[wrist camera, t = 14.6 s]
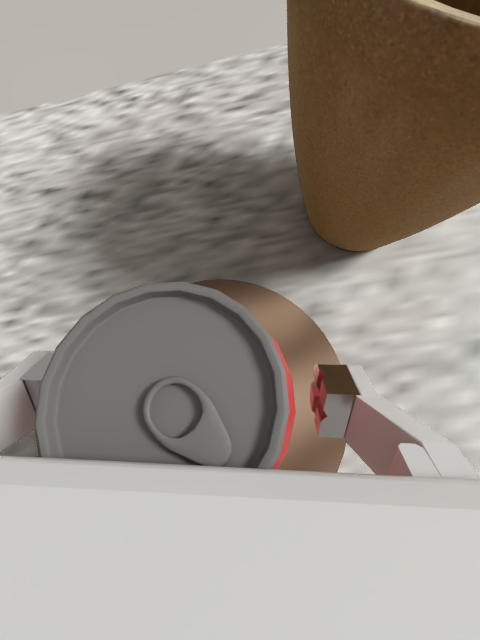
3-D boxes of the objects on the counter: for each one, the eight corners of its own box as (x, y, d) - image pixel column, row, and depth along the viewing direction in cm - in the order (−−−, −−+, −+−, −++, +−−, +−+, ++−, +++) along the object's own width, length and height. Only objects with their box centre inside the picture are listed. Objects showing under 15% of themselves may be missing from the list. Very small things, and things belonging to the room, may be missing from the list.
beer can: (215, 493, 16) (154, 679, 5) (136, 410, 18) (-56, 408, 6) (290, 401, 18) (375, 385, 6) (211, 331, 19) (166, 214, 8)
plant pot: (248, 150, 26) (257, -234, 10) (416, 134, 26) (662, -258, 11) (272, 311, 21) (350, 58, 6) (473, 289, 22) (1024, 1, 6)
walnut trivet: (393, 422, 19) (406, 423, 17) (189, 612, 16) (183, 633, 15) (239, 249, 23) (239, 237, 21) (53, 379, 20) (37, 376, 18)
